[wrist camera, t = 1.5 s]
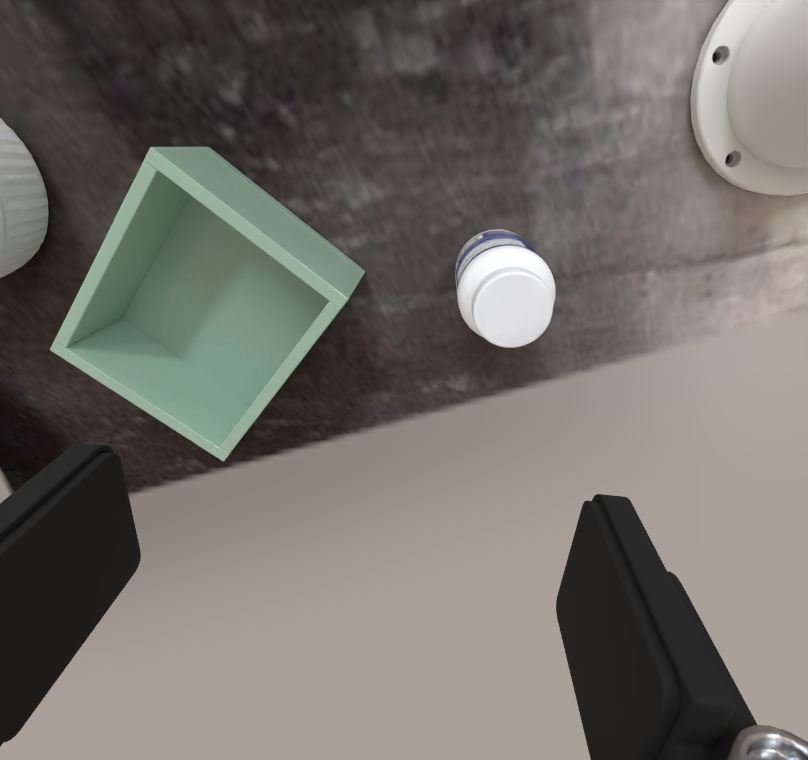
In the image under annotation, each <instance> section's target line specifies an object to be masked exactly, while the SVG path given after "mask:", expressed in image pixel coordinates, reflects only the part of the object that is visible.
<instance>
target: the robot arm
mask: <svg viewBox="0 0 808 760" xmlns="http://www.w3.org/2000/svg"><path fill="white" fill-rule="evenodd" d="M713 53H715V54H716V55H717V60H716V62H715V63H714V62H713V60H712V56H713ZM690 105H691V122H692V126H693V130H694V134H695V138H696V142H697V144H698V146H699V148H700V150H701V152H702V154H703V156H704V158H705V160H706V161H707V162H708V163H709V164H710V165H711V167H712V168H713V169H714V170H715V171H716V173H717V174H719V175H720V176H721V177H723V178H724V179H726V180H727V181H728V182H730V183H731V184H733V185H735V186H738V187H740V188H743V189H745V190H748V191H750V192H756V193H761V194H766V195H781V196H791V195H798V194H806V193H808V0H729V1H728V2H727V4H726V5H725V7H724V8H723V10H722V11H721V13H720V14H719V16H718V17H717V19H716V20H715V22H714V23H713V25H712V27H711V29H710V31H709V34H708V36H707V38H706V40H705V42H704V44H703V46H702V48H701V51H700V54H699V58H698V61H697V64H696V68H695V71H694V74H693V81H692V89H691V97H690ZM727 155H729V161H728V162H727V163H725V160H726V157H727ZM140 556H141V554H140V548H139V543H138V538H137V534H136V529H135V524H134V520H133V515H132V510H131V506H130V501H129V497H128V492H127V487H126V483H125V478H124V473H123V469H122V464H121V460H120V457H119V456H118V455H117V454H114V453H113V450H112V449H111V448H110V447H109V446H106V445H96V444H86V443H77V444H75V445H73V446H71V447H70V448H69V449H68V450H66V451H65V452H64V453H63V454H61V455H60V456H59V457H58V458H56V459H55V460H54V461H53V462H51V463H50V464H49V465H48V466H46V467H45V468H44V469H43V470H41V471H40V472H39V473H38V474H36V475H35V476H34V477H33V478H31V479H30V480H29V481H28V482H27V483H25V484H24V485H23V486H22V487H20V488H19V489H18V490H17V491H15V492H14V493H13V494H12V495H10V496H9V497H8V498H7V499H5V500H4V501H3V502H2V503H1V504H0V746H1V745H2V743H3V742H7V741H9V740H11V739H12V738H13V737H14V736H16V734H17V733H18V732H19V731H20V730H21V728H22V727H23V726H24V724H25V722H26V721H27V720H28V719H29V717H30V716H31V714H32V713H33V712H34V710H35V709H36V708H37V706H38V705H39V704H40V702H41V701H42V699H43V698H44V697H45V695H46V694H47V693H48V691H49V690H50V688H51V687H52V685H53V684H54V683H55V682H56V680H57V679H58V677H59V676H60V675H61V673H62V672H63V671H64V669H65V668H66V666H67V665H68V664H69V662H70V661H71V660H72V658H73V657H74V655H75V654H76V653H77V651H78V650H79V649H80V647H81V646H82V644H83V643H84V642H85V640H86V639H87V637H88V636H89V635H90V633H91V632H92V631H93V629H94V628H95V626H96V625H97V624H98V622H99V621H100V620H101V618H102V617H103V616H104V614H105V613H106V611H107V610H108V609H109V607H110V606H111V605H112V603H113V602H114V600H115V599H116V598H117V596H118V595H119V593H120V592H121V591H122V589H123V588H124V587H125V585H126V584H127V583H128V581H129V580H130V578H131V577H132V576H133V574H134V573H135V571H136V569H137V568H138V565H139V562H140ZM556 611H557V619H558V623H559V627H560V631H561V635H562V640H563V644H564V648H565V653H566V657H567V661H568V665H569V669H570V674H571V678H572V682H573V686H574V690H575V694H576V698H577V703H578V707H579V711H580V716H581V720H582V724H583V729H584V733H585V737H586V741H587V746H588V749H589V753H590V758H591V760H808V742H807V741H805V740H803V739H801V738H799V737H797V736H796V735H794V734H792V733H790V732H788V731H785V730H782V729H779V728H775V727H772V726H763V725H757V723H756V721H755V720H754V718H753V716H752V714H751V712H750V711H749V709H748V707H747V705H746V703H745V701H744V699H743V697H742V695H741V694H740V692H739V690H738V688H737V686H736V684H735V683H734V681H733V679H732V677H731V675H730V673H729V671H728V669H727V668H726V666H725V664H724V662H723V660H722V658H721V656H720V655H719V653H718V651H717V649H716V647H715V646H714V643H713V642H712V640H711V638H710V636H709V634H708V632H707V630H706V629H705V627H704V625H703V623H702V621H701V619H700V617H699V616H698V614H697V612H696V610H695V608H694V606H693V604H692V603H691V601H690V599H689V597H688V595H687V593H686V591H685V590H684V588H683V586H682V584H681V582H680V581H679V579H678V578H677V577H676V576H675V575H674V574H673V573H671V572H667V570H666V569H665V567H664V565H663V563H662V561H661V559H660V557H659V555H658V553H657V551H656V549H655V547H654V546H653V544H652V542H651V540H650V538H649V536H648V534H647V532H646V530H645V528H644V526H643V524H642V523H641V521H640V519H639V517H638V515H637V513H636V511H635V509H634V507H633V505H632V503H631V501H630V500H629V499H628V498H627V497H620V496H611V495H600V494H597V495H595V496H594V498H593V500H592V501H585V502H584V504H583V506H582V510H581V513H580V517H579V520H578V524H577V528H576V531H575V535H574V538H573V542H572V545H571V549H570V553H569V556H568V560H567V564H566V567H565V571H564V575H563V578H562V582H561V586H560V589H559V592H558V596H557V602H556Z"/></svg>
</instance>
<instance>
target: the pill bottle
mask: <svg viewBox="0 0 808 760" xmlns="http://www.w3.org/2000/svg"><path fill="white" fill-rule="evenodd" d="M455 279H456V287H457V299H458V305H459V309H460V312H461V315H462V317H463V319H464V320H465V322H466V323H467V325H468V326H469V327H470V328H471V329H472V330H473V331H474V332H475V333H477V334H478V335H480V336H482V337H484V338H485V339H486V340H488V341H489V342H491V343H493V344H495V345H497V346H501V347H507V348H514V347H520V346H524V345H526V344H529V343H531V342H532V341H534V340H536V339H537V338H538V337H539V336H540V335H541V334H542V333H543V332H544V331H545V329H546V328H547V326H548V325H549V323H550V320H551V317H552V312H553V305H554V301H555V283H554V279H553V276H552V273H551V271H550V269H549V267H548V266H547V264H546V263H545V262H544V260H543V259H542V258H541V257H540V256H539V255H538V254H537V253H536V252H535V250H534V249H533V248H532V247H531V246H530V245H529V244H528V243H527V242H526V241H525V240H524V239H523V238H521V237H520V236H519V235H517V234H515V233H513V232H510V231H506V230H489V231H485V232H482V233H480V234H478V235H476V236H475V237H473V238H472V239H470V240H469V241H468V242H467V243H466V244H465V245H464V247H463V248H462V250H461V251H460V253H459V255H458V258H457V261H456V266H455Z"/></svg>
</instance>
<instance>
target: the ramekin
mask: <svg viewBox="0 0 808 760" xmlns="http://www.w3.org/2000/svg"><path fill="white" fill-rule="evenodd" d="M48 216H49V211H48V199H47V193H46V189H45V185H44V182H43V178H42V176H41V173H40V171H39V169H38V167H37V165H36V163H35V161H34V159H33V158H32V155H31V154H30V152H29V151H28V150H27V148H26V146H25V145H24V143H23V142H22V141H21V140H20V139H19V138H18V136H17V135H16V134H15V132H14V131H13V130H12V129H11V128H9V127H8V126H7V125H6V124H5V122H4V121H3V120H2V119H1V118H0V278H1V277H3V276H6V275H8V274H10V273H11V272H13V271H15V270H16V269H18V268H20V267H22V266H23V265H24V264H26V263H27V261H28V260H30V259H31V258H32V257H33V256H34V255H35V253H36V252H37V251H38V250H39V248H40V246H41V244H42V243H43V241H44V237H45V235H46V233H47V227H48Z"/></svg>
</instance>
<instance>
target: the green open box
mask: <svg viewBox="0 0 808 760" xmlns="http://www.w3.org/2000/svg"><path fill="white" fill-rule="evenodd" d="M365 272H366V271H365V270H363V269H362V268H361V267H360V266H358V265H357V264H356V263H355V262H353V261H352V260H351V259H350V258H348V257H347V256H346V255H344V254H343V253H342V252H341V251H339V250H338V249H337V248H336V247H334V246H333V245H332V244H331V243H329V242H328V241H327V240H326V239H324V238H323V237H322V236H321V235H319V234H318V233H317V232H315V231H314V230H313V229H312V228H310V227H309V226H308V225H307V224H305V223H304V222H303V221H302V220H300V219H299V218H298V217H297V216H295V215H294V214H293V213H292V212H290V211H289V210H288V209H287V208H285V207H284V206H283V205H281V204H280V203H279V202H278V201H276V200H275V199H274V198H273V197H271V196H270V195H269V194H268V193H266V192H265V191H264V190H263V189H261V188H260V187H259V186H258V185H256V184H255V183H254V182H252V181H251V180H250V179H249V178H247V177H246V176H245V175H244V174H242V173H241V172H240V171H239V170H237V169H236V168H235V167H234V166H232V165H231V164H230V163H229V162H227V161H226V160H225V159H223V158H222V157H221V156H220V155H218V154H217V153H216V152H215V151H213V150H212V149H211V148H210V147H150V149H149V151H148V153H147V155H146V157H145V161H144V162H143V164H142V166H141V168H140V170H139V172H138V174H137V176H136V178H135V180H134V182H133V184H132V186H131V188H130V190H129V192H128V194H127V196H126V198H125V200H124V202H123V204H122V206H121V208H120V210H119V212H118V214H117V216H116V218H115V220H114V222H113V224H112V226H111V228H110V230H109V232H108V234H107V236H106V238H105V240H104V242H103V244H102V246H101V248H100V250H99V252H98V254H97V256H96V258H95V260H94V262H93V264H92V266H91V268H90V270H89V272H88V274H87V276H86V278H85V280H84V282H83V284H82V286H81V288H80V290H79V292H78V294H77V296H76V298H75V300H74V302H73V304H72V306H71V308H70V310H69V312H68V314H67V316H66V318H65V320H64V322H63V324H62V326H61V328H60V330H59V332H58V334H57V336H56V338H55V341H54V342H53V344H52V346H51V348H50V350H51V351H52V352H54V353H55V354H57V355H58V356H60V357H62V358H63V359H65V360H66V361H68V362H69V363H71V364H72V365H74V366H76V367H77V368H79V369H80V370H82V371H83V372H85V373H86V374H88V375H90V376H91V377H93V378H94V379H96V380H97V381H99V382H100V383H102V384H104V385H105V386H107V387H108V388H110V389H111V390H113V391H114V392H116V393H118V394H119V395H121V396H122V397H124V398H125V399H127V400H128V401H130V402H132V403H133V404H135V405H136V406H138V407H139V408H141V409H142V410H144V411H146V412H147V413H149V414H150V415H152V416H153V417H155V418H156V419H158V420H160V421H161V422H163V423H164V424H166V425H167V426H169V427H170V428H172V429H174V430H175V431H177V432H178V433H180V434H181V435H183V436H184V437H186V438H188V439H189V440H191V441H192V442H194V443H195V444H197V445H198V446H200V447H202V448H203V449H205V450H206V451H208V452H209V453H211V454H212V455H214V456H216V457H217V458H219V459H220V460H222V461H225V459H226V458H227V457H228V455H229V454H230V453H231V451H232V450H233V449H234V448H235V446H236V445H237V444H238V442H239V441H240V440H241V438H242V437H243V436H244V435H245V433H246V432H247V431H248V429H249V428H250V427H251V425H252V424H253V423H254V422H255V420H256V419H257V418H258V416H259V415H260V414H261V412H262V411H263V410H264V409H265V407H266V406H267V405H268V403H269V402H270V401H271V400H272V398H273V397H274V396H275V394H276V393H277V392H278V390H279V389H280V388H281V387H282V385H283V384H284V383H285V381H286V380H287V379H288V377H289V376H290V375H291V374H292V372H293V371H294V370H295V368H296V367H297V366H298V364H299V363H300V362H301V361H302V359H303V358H304V357H305V355H306V354H307V353H308V351H309V350H310V349H311V348H312V346H313V345H314V344H315V342H316V341H317V340H318V339H319V337H320V336H321V335H322V333H323V332H324V331H325V329H326V328H327V327H328V326H329V324H330V323H331V322H332V320H333V319H334V318H335V316H336V315H337V314H338V313H339V311H340V310H341V309H342V307H343V306H344V305H345V304H346V302H347V301H348V300H349V298H350V296H351V295H352V293H353V291H354V290H355V288H356V287H357V285H358V283H359V282H360V280H361V279H362V277H363V275H364V274H365Z"/></svg>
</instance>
